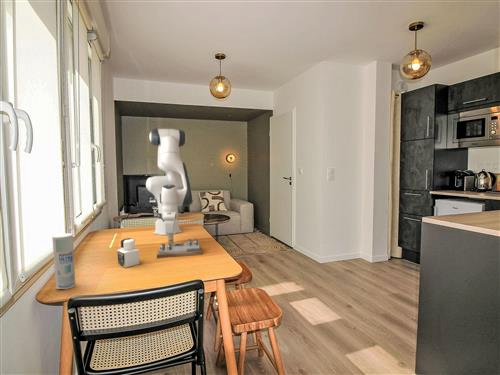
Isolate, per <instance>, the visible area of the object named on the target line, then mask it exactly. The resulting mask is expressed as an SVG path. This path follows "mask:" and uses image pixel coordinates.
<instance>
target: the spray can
mask: <svg viewBox="0 0 500 375" xmlns="http://www.w3.org/2000/svg"><path fill="white" fill-rule="evenodd" d="M52 250H53V263H54V264H53V265H54V276H55V277H54V278H55V289H56V288H57V289H66V290H69V289H72V288H74V287H75V286H76V277H75V276H76V275H75V274H76V272H75V254H74V253H75V252H74V251H75V250H74V234H73V233H71V232H70V233H67V232H65V233H58V234H55V235H53V236H52ZM68 288H69V289H68ZM57 289H56V290H57Z"/></svg>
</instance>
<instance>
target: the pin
mask: <svg viewBox="0 0 500 375" xmlns="http://www.w3.org/2000/svg"><path fill="white" fill-rule="evenodd" d="M174 240H175V239H174V234H172V240H169V236H168V235H167V244H168V243H171V244H172V246H173V243H175V241H174Z"/></svg>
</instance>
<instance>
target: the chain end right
mask: <svg viewBox="0 0 500 375" xmlns="http://www.w3.org/2000/svg"><path fill="white" fill-rule="evenodd" d="M199 246H200V242H199V240H198V238H194V240H193V241H192V239H191V238H188V240H187V242H177V243H175V242H174V243H173V247H172V249H173V250H179V249H187V252H191V251H199Z"/></svg>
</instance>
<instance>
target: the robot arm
mask: <svg viewBox="0 0 500 375" xmlns="http://www.w3.org/2000/svg"><path fill="white" fill-rule="evenodd" d="M148 136H149V141H150V143H151V145H153V146H154V147H155V146H156V147H158V148H157V167H158V169H159V170H161V171H163V172H164V173H165V174H166V175H155V176H154V175H153V176H150V177H148V178H147V179H146V182H145V187H146V190H147V191H148V192H150V193H151V194H152V195H153V196H154V197H155V199H156V202H157V208H158V210H157V211H158V212H157V220H155V230H154V231H153V232H152V234H154V235H161V236H167V237H168V236H169V240H172V234H173V235H176V234H178V233H182V229H181V228H180V225H179V220H178V217H179V207H190V206H191V205H192V204H193V201H194V195H193V191H192V188H191V183H190V178H189V174H188V173H189V172H188V170H187V165H186V163H185V162H183V161H182V159H181V156H180V148H181V147H184V146H185V144H186V141H187V135H186V132H185V131H184V130H182V129H175V128H152V129H151V130H150V132H149V135H148Z"/></svg>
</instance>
